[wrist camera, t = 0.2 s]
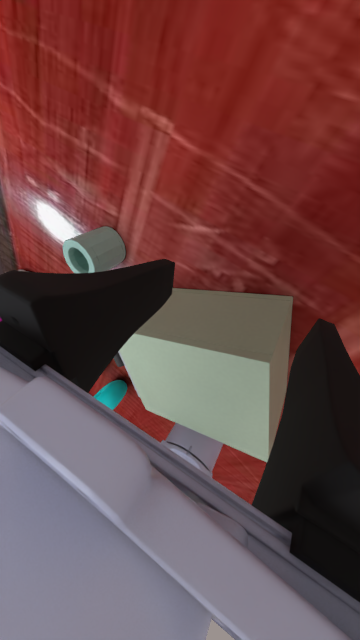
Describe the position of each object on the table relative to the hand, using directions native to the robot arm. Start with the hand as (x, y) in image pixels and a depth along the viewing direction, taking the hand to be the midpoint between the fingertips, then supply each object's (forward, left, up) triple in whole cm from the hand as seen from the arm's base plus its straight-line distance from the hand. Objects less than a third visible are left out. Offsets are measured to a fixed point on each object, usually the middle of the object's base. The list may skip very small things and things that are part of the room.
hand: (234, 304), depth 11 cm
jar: (-6, +18, -10) cm, 21 cm away
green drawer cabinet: (-13, +2, -10) cm, 16 cm away
